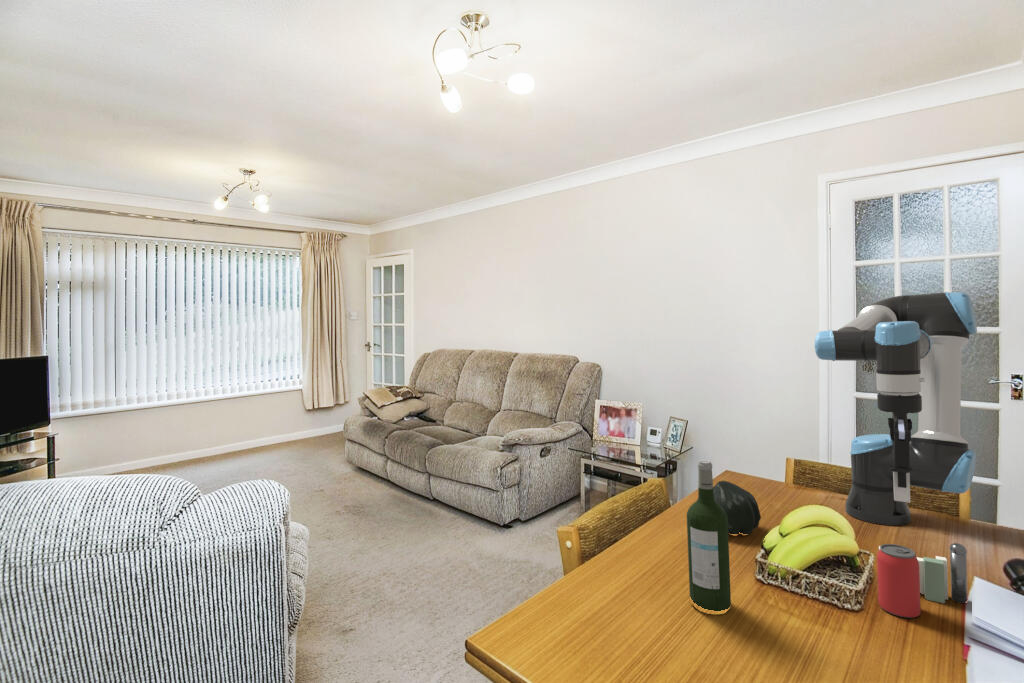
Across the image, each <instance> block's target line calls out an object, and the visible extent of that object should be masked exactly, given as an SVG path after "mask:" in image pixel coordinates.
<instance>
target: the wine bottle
mask: <svg viewBox="0 0 1024 683" xmlns="http://www.w3.org/2000/svg"><path fill="white" fill-rule="evenodd" d="M712 469H713V464H712V461H711V460H708V459H700V460H698V462H697V470H698V472H697V473H698V484H697V485H698V486H697V487H698V492H697V493H698V495H697V496H698V497H697V500H696V501H695V502H694V503H692V504H691V505H690V506H689V507H688V509H687V512H686V530H687V531H686V532H687V560H688V582H689V598H690V597H691V599H692V600H693V602H694V603H696V604H697V605H698V606H701V607H702V608H704V609H708V610H714V611H721V610H725V609H728V608H729V607H730V605H731V606H732V602H731V601H732V600H731V572H730V547H729V546H730V545H729V534H728V517H727V514H726V512H725V511H724V509H723V508H722V507H721V506H720V505H719V504H717V503H716V502H715V499H714V491H713V487H714V480H713V479H714V478H713V470H712Z"/></svg>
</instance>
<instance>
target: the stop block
mask: <svg viewBox="0 0 1024 683" xmlns="http://www.w3.org/2000/svg"><path fill="white" fill-rule="evenodd" d="M922 557H923V565H924V595H925V596H924V599H925V600H926V599H927V600H926V601H931V602H936V603H939V604H940V603H941V604H946V599H945V588H944V563H943V560H939V559H936V558H932V557H927V556H922Z"/></svg>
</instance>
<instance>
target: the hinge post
mask: <svg viewBox="0 0 1024 683" xmlns="http://www.w3.org/2000/svg"><path fill="white" fill-rule="evenodd" d="M967 553H968V549H967V548H966V547H965V546H964V544H961V543H958V542H955V543H951V544H950V545H949V556H950V590H951V591H950V595H951V597H950V598H952V599H953V600H954V601H953V600H952V599H951V600H952V601H953V602H955V601H956V602H955V603H958V602H959V603H958V604H962V603H964V605H965V602H966V601H967V600H968V571H967V570H968V568H967V563H968V562H967Z"/></svg>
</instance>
